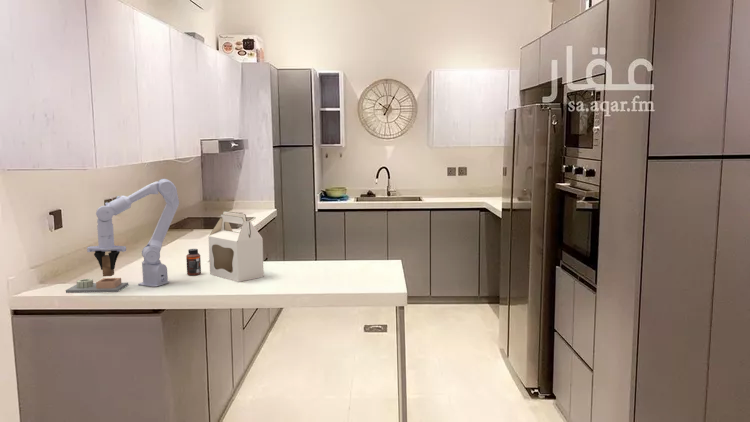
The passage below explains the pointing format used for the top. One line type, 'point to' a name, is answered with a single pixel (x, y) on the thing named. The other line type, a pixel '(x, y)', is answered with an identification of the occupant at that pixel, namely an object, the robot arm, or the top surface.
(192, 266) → the supplement bottle
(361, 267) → the top surface
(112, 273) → the square bit
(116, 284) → the socket block
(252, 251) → the gable box
